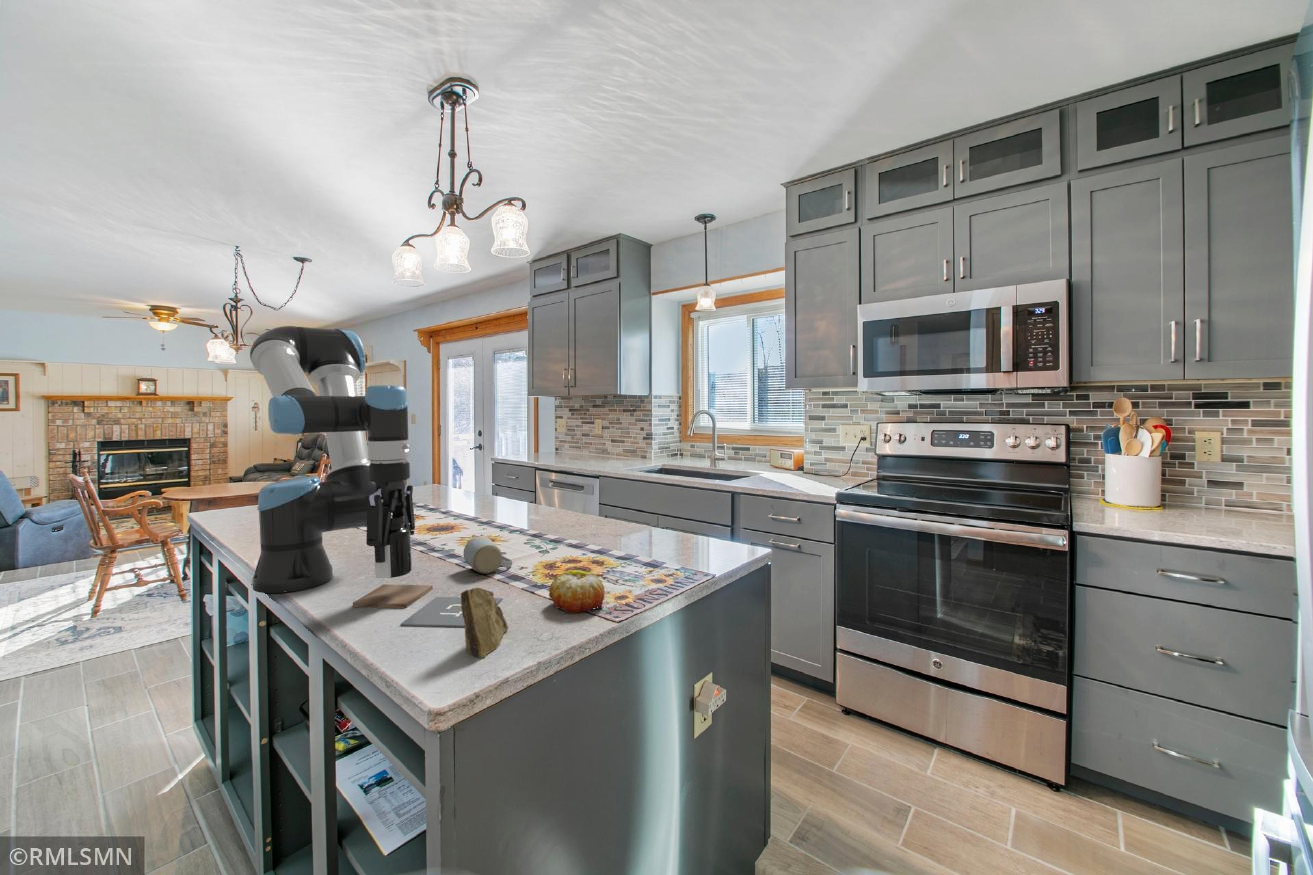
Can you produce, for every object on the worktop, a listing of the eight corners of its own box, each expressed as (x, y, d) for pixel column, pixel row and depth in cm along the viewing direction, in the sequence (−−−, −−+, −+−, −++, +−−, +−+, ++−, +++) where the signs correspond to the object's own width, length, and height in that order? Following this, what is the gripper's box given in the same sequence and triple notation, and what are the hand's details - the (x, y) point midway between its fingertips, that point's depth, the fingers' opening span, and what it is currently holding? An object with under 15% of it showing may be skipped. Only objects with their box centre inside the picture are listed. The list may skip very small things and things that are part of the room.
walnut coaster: (352, 606, 110) (352, 602, 110) (383, 587, 121) (383, 584, 121) (406, 607, 109) (406, 603, 109) (432, 588, 120) (432, 585, 120)
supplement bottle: (419, 571, 116) (416, 515, 115) (388, 580, 110) (385, 521, 109) (399, 566, 120) (397, 511, 119) (368, 575, 114) (366, 517, 113)
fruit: (537, 610, 107) (542, 567, 109) (563, 607, 116) (567, 568, 118) (589, 616, 103) (593, 572, 105) (612, 613, 113) (615, 572, 114)
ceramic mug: (473, 577, 128) (473, 545, 127) (463, 569, 134) (462, 537, 134) (517, 570, 134) (517, 539, 134) (505, 562, 141) (505, 532, 140)
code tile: (400, 625, 101) (400, 623, 101) (436, 598, 115) (436, 596, 115) (475, 627, 100) (475, 625, 100) (502, 599, 114) (502, 597, 114)
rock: (493, 610, 102) (442, 619, 94) (514, 578, 99) (464, 585, 91) (519, 660, 96) (468, 674, 88) (542, 627, 93) (491, 639, 85)
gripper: (379, 466, 103) (384, 587, 105) (430, 456, 123) (433, 558, 124) (340, 466, 104) (346, 587, 105) (397, 456, 124) (401, 558, 125)
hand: (393, 571), depth 115 cm, fingers closed on supplement bottle, 7 cm apart
